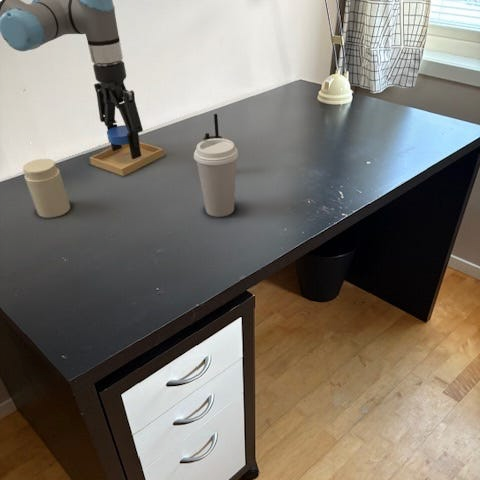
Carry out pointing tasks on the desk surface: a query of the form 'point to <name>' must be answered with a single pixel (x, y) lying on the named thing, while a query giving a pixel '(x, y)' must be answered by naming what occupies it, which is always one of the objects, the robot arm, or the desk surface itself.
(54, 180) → the jar
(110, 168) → the tray
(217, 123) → the walkie-talkie
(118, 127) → the lid
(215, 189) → the coffee cup
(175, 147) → the desk surface
